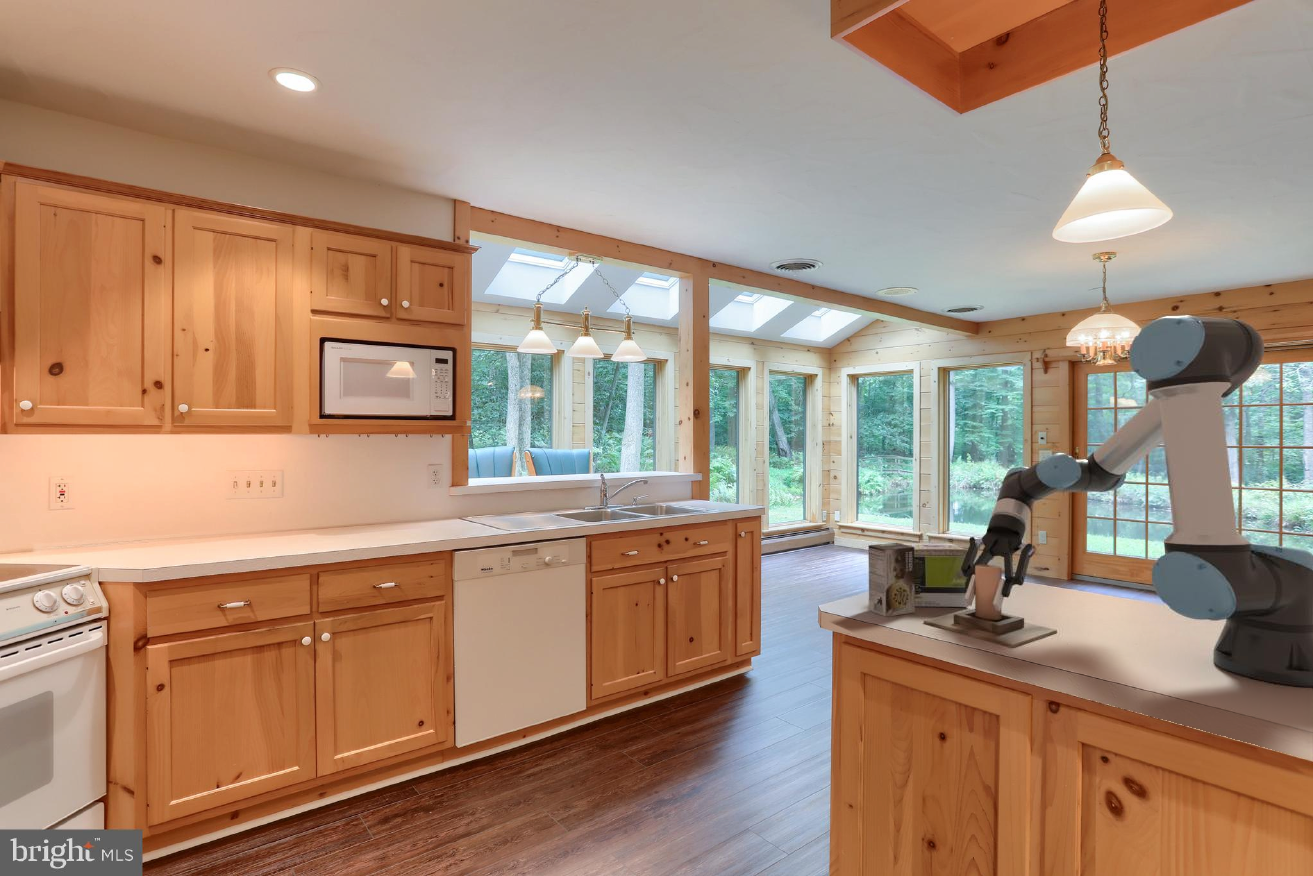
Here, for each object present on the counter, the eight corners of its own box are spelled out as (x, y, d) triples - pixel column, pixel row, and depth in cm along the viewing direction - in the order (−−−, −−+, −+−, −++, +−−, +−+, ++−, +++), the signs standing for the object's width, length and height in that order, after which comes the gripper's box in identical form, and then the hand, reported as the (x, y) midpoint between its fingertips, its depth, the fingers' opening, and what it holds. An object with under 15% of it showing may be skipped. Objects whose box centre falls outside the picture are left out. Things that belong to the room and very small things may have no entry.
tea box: (954, 598, 166) (954, 542, 166) (969, 608, 156) (969, 549, 156) (895, 597, 167) (895, 541, 167) (906, 607, 157) (906, 548, 157)
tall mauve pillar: (1006, 617, 139) (1006, 567, 139) (993, 621, 136) (993, 570, 136) (983, 611, 143) (983, 563, 143) (970, 615, 141) (970, 566, 141)
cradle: (1056, 632, 136) (1056, 620, 136) (1012, 647, 126) (1012, 634, 126) (968, 611, 153) (968, 600, 153) (923, 623, 143) (923, 611, 143)
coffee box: (896, 606, 157) (896, 542, 157) (915, 613, 151) (916, 546, 151) (867, 610, 154) (867, 544, 154) (885, 617, 148) (885, 548, 148)
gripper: (1055, 537, 144) (1032, 623, 132) (972, 528, 157) (944, 606, 146) (1048, 516, 140) (1024, 602, 129) (963, 509, 153) (934, 587, 142)
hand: (981, 604), depth 137 cm, fingers closed on tall mauve pillar, 5 cm apart
